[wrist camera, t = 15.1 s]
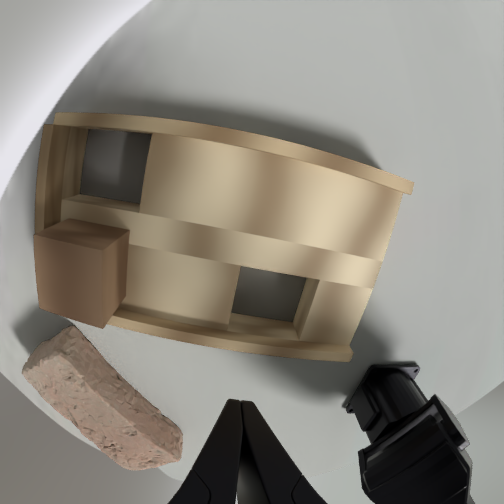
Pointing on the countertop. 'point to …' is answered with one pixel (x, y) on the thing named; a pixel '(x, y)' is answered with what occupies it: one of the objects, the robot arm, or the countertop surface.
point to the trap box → (231, 230)
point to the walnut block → (81, 270)
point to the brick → (102, 402)
